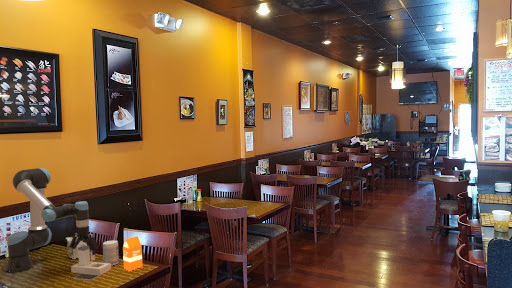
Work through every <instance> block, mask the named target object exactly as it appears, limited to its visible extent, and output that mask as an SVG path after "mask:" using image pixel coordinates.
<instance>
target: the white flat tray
mask: <svg viewBox="0 0 512 288" xmlns="http://www.w3.org/2000/svg"><path fill="white" fill-rule="evenodd" d="M109 270H110V271H112V266H111V263H104V262H99V261H90V264H89V265H87V266H79V262H78V263H75V264H72V265H70V271H71V273H74V274H80V275H81V274H90V275H100V276H102V275H104V274H106V273H107V272H110V271H109Z"/></svg>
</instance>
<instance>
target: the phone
mask: <svg viewBox="0 0 512 288" xmlns="http://www.w3.org/2000/svg"><path fill="white" fill-rule="evenodd" d="M100 276H101V275H91V274H81V273H80V274H79V275H76V276H74V277H73V279H74V280H82V281H93V280H95V279H97V278H99V277H100Z"/></svg>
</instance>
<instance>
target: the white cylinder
mask: <svg viewBox="0 0 512 288" xmlns="http://www.w3.org/2000/svg"><path fill="white" fill-rule="evenodd" d="M78 253H79V258H78V263H79V266H87V265H89V264H90V262H91V251H90V247H89V245H87V246H85V245H84V246H81V247H79V248H78Z"/></svg>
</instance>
